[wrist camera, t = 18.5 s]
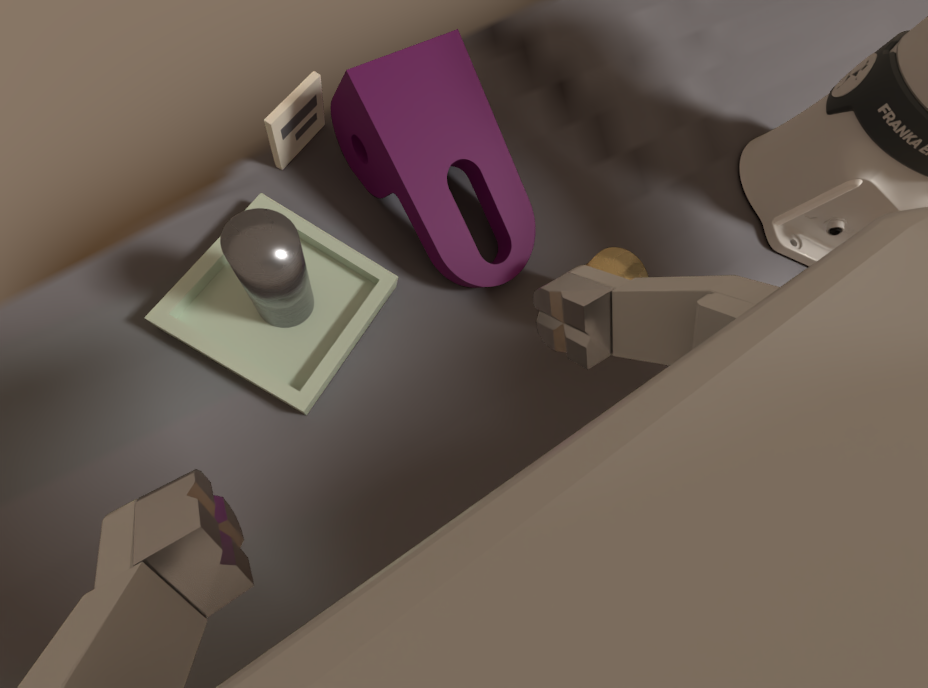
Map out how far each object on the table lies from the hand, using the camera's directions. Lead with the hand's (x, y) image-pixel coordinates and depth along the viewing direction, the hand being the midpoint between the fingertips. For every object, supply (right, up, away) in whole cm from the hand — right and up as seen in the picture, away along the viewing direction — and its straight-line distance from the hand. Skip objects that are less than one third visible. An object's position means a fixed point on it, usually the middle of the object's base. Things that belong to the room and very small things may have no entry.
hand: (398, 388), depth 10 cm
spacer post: (-12, +4, +23) cm, 26 cm away
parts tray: (-12, +4, +23) cm, 26 cm away
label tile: (-12, +18, +27) cm, 35 cm away
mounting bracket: (-1, +13, +29) cm, 32 cm away
